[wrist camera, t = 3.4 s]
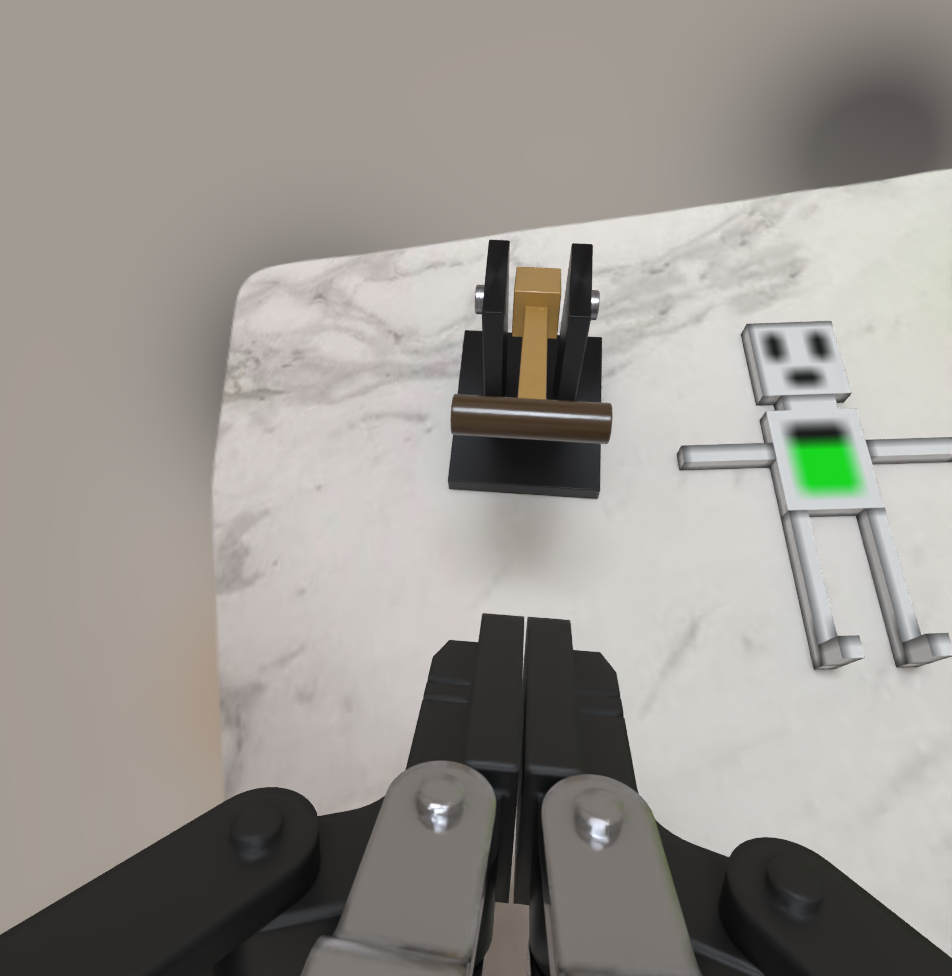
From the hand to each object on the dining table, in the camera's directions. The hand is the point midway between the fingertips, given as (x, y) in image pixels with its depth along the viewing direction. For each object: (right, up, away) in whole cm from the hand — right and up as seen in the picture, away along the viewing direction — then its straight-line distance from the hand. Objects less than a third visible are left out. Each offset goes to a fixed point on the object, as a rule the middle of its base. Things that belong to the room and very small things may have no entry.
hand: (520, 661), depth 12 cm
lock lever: (+2, +8, +19) cm, 21 cm away
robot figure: (+20, +3, +30) cm, 36 cm away
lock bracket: (+3, +8, +32) cm, 33 cm away
